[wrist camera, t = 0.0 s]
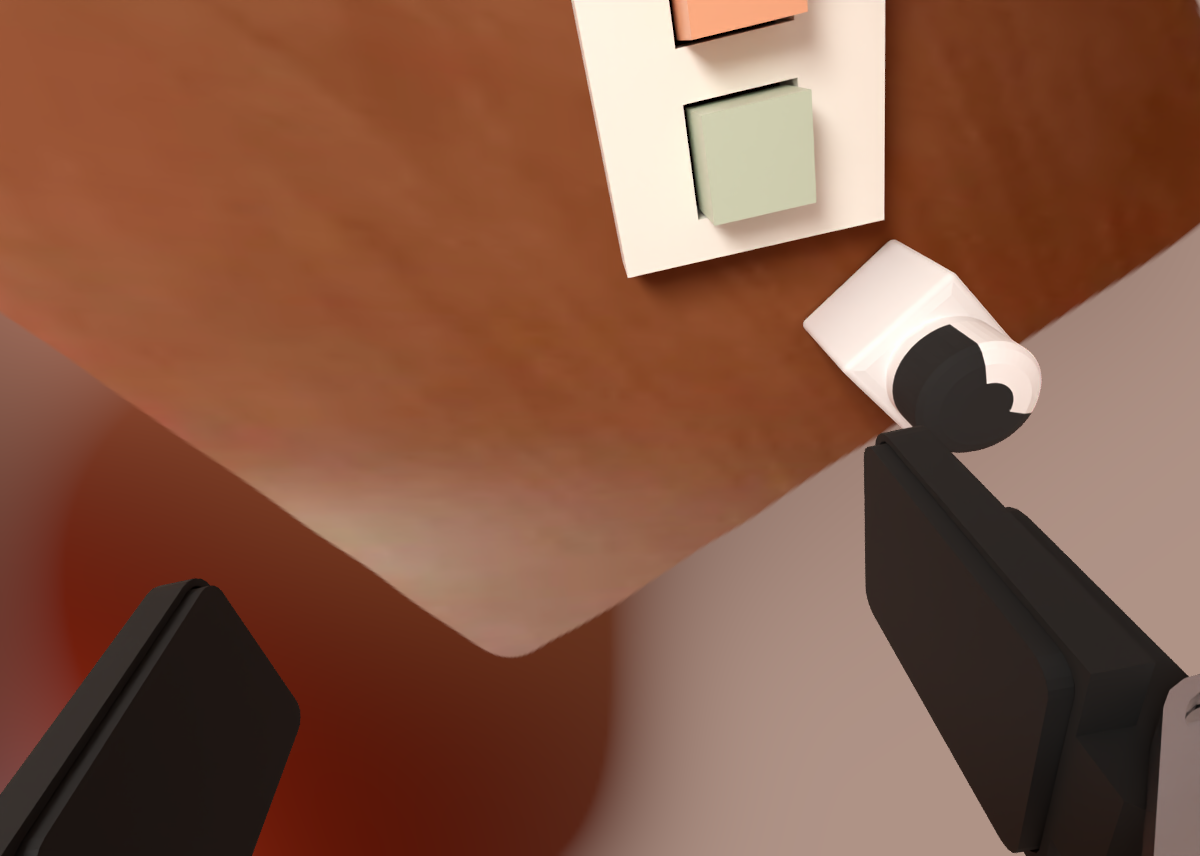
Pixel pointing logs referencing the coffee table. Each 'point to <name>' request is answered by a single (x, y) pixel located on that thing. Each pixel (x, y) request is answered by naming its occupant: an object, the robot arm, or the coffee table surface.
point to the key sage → (753, 153)
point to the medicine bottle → (927, 350)
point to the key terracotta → (728, 15)
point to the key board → (719, 67)
